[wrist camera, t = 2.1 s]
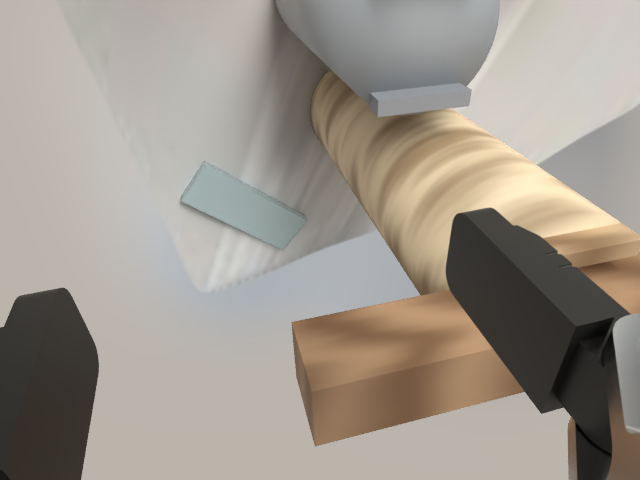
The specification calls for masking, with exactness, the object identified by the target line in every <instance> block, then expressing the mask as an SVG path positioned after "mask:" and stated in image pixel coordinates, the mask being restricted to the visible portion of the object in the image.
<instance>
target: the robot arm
mask: <svg viewBox="0 0 640 480" xmlns="http://www.w3.org/2000/svg"><path fill="white" fill-rule="evenodd" d="M446 279H447V283H448V286H449V289H450V291H451V293H452V294H453V296H454V297H455V299H456V300H457V301H458V303H459V304H460V305H461V307H462V308H463V309H464V311H465V312H466V313H467V315H468V316H469V317H470V319H471V320H472V321H473V323H474V324H475V325H476V327H477V328H478V329H479V331H480V332H481V333H482V335H483V336H484V338H485V339H486V340H487V342H488V343H489V344H490V346H491V347H492V348H493V350H494V351H495V352H496V354H497V355H498V356H499V358H500V359H501V360H502V362H503V363H504V364H505V366H506V367H507V368H508V370H509V371H510V372H511V374H512V375H513V376H514V378H515V379H516V380H517V382H518V383H519V384H520V386H521V387H522V388H523V390H524V391H525V392H526V394H527V395H528V396H529V398H530V399H531V401H532V402H533V403H534V404H535V406H536V407H537V408H538V410H539V411H540V413H541V414H542V413H546V412H549V411H553V410H556V409H560V408H563V407H564V408H565V409H566V410H567V412H568V413H569V414H570V416H571V419H570V421H569V423H568V464H569V480H640V314H630V313H629V312H628V311H627V310H626V309H624V308H623V307H622V306H621V305H620V304H619V303H617V302H616V301H615V300H614V299H613V298H612V297H611V296H609V295H608V294H607V293H606V292H605V291H604V290H602V289H601V288H600V287H599V286H598V285H597V284H595V283H594V282H593V281H592V280H591V279H590V278H588V277H587V276H586V275H585V274H584V273H583V272H581V271H580V270H579V269H578V268H577V267H573V266H572V263H571V262H570V261H569V260H568V259H566V258H565V257H564V256H563V255H562V254H558V251H557V250H556V249H555V248H554V247H552V246H551V245H550V244H549V243H548V242H547V241H545V240H544V239H543V238H542V237H541V236H539V235H537V234H535V233H533V232H531V231H529V230H527V229H525V228H522V227H520V226H518V225H514V226H513V225H512V224H511V223H510V222H509V221H508V220H507V219H505V218H504V217H503V216H502V215H501V214H500V213H499V212H498V211H496V210H495V209H493V208H490V207H489V208H483V209H478V210H473V211H468V212H462V213H458V214H456V215H455V217H454V219H453V222H452V228H451V235H450V242H449V248H448V255H447V262H446ZM98 372H99V362H98V354H97V350H96V346H95V343H94V341H93V339H92V337H91V335H90V333H89V331H88V329H87V327H86V324H85V322H84V321H83V318H82V316H81V314H80V312H79V310H78V308H77V306H76V304H75V302H74V300H73V298H72V296H71V294H70V293H69V291H68V290H67V289H65V288H59V289H53V290H48V291H43V292H37V293H33V294H27V295H22V296H19V297H18V298H17V299H16V300H15V302H14V304H13V307H12V309H11V311H10V314H9V316H8V318H7V321H6V323H5V326H4V327H1V328H0V480H81V475H82V469H83V462H84V457H85V451H86V445H87V439H88V433H89V426H90V421H91V415H92V409H93V403H94V397H95V391H96V385H97V378H98Z"/></svg>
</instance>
